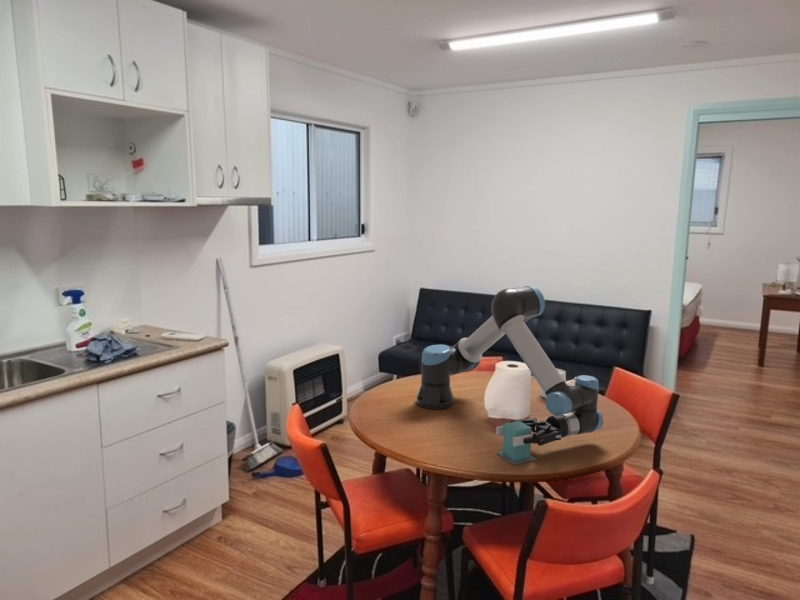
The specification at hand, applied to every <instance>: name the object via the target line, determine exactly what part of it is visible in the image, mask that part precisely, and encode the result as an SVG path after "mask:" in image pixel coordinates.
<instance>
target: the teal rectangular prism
mask: <svg viewBox="0 0 800 600" xmlns="http://www.w3.org/2000/svg"><path fill="white" fill-rule="evenodd" d="M503 426H504V434H503V440H502V442H503V443H502V451H503V453H504V454H505V455H506V456H508V457H509V458H511V459H512V460H514V461H515V460H520V459H525V458H530V455H531V446H532V443H529V444H524V445H519V446H513V437H518V436H523V435H528V434H531V435H532V433H533V431H532V428H531V427H529V426H528V425H526V424H524V423H522V422H521V421H517V422H511V423H510V422H506V423H504V424H503Z"/></svg>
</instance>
